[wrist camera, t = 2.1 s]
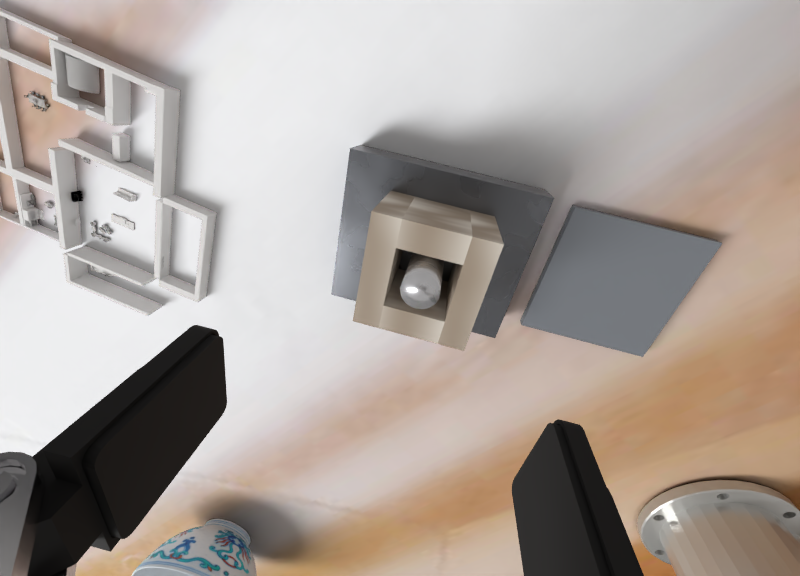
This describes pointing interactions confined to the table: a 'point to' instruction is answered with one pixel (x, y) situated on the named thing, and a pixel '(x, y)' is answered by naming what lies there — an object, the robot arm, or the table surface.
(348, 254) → the post stand
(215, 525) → the chinaware
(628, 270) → the mat
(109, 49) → the table surface
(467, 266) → the collar
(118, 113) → the floor plan model
